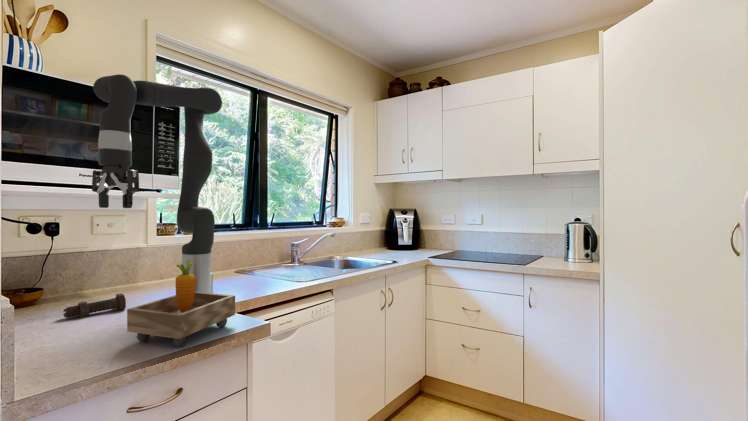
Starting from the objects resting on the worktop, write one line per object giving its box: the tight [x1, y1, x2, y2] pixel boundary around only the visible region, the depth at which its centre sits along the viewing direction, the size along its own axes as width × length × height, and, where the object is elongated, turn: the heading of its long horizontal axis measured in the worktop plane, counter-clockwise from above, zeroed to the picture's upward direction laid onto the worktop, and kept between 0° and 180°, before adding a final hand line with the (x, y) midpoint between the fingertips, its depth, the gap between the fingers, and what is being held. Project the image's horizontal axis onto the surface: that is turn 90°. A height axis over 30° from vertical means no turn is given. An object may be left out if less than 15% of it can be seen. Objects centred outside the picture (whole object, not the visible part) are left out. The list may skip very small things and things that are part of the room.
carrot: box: [175, 260, 196, 313], centre depth 98 cm, size 5×5×15 cm
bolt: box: [62, 293, 127, 319], centre depth 114 cm, size 6×5×15 cm
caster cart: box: [126, 292, 236, 348], centre depth 98 cm, size 20×16×8 cm
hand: (115, 207), depth 102 cm, fingers open, 8 cm apart
